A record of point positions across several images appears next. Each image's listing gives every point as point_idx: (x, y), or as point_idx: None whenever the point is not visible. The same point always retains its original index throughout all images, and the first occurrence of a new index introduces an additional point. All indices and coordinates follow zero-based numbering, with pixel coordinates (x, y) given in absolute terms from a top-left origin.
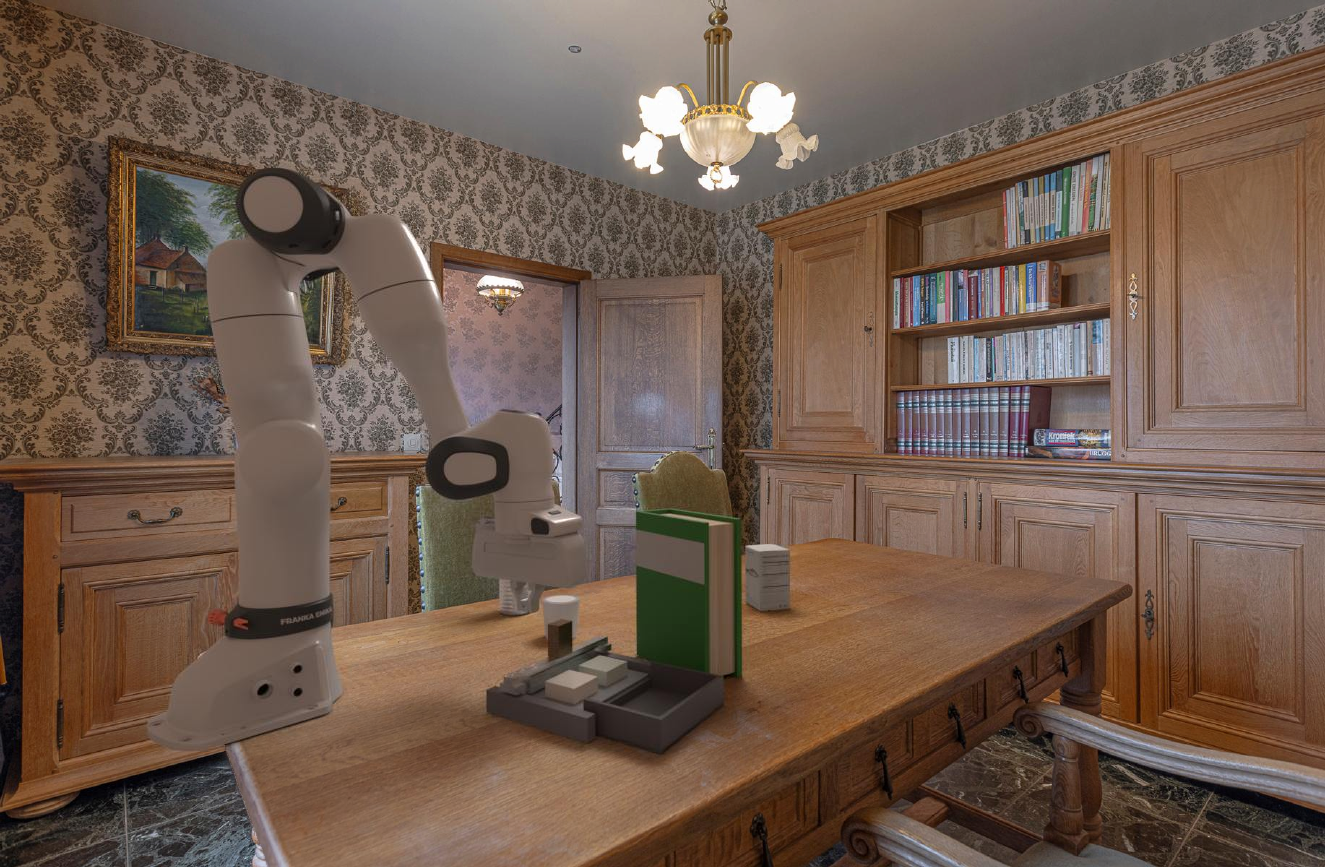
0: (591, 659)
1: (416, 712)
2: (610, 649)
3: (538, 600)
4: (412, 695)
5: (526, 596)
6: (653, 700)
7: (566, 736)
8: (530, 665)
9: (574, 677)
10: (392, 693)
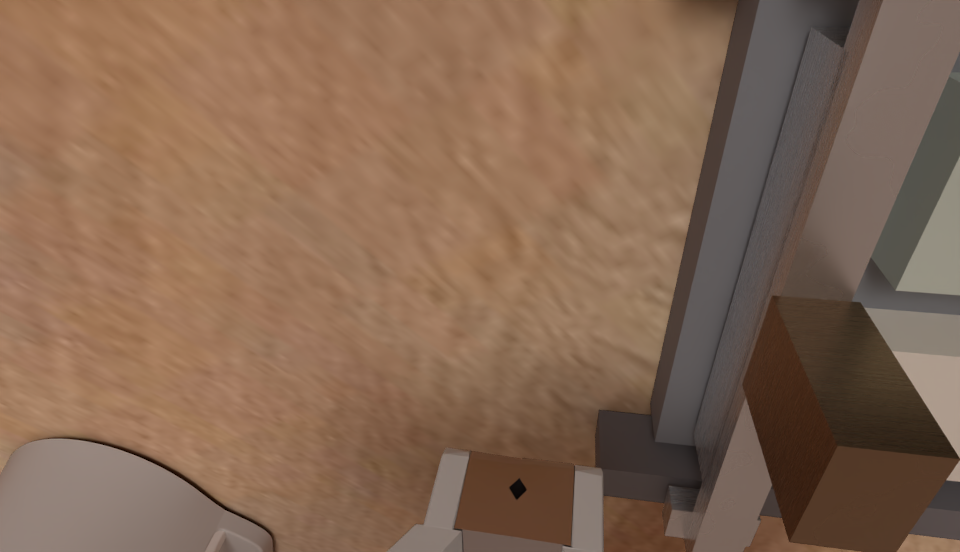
0: (946, 186)
1: (422, 480)
2: None
3: (602, 544)
4: (310, 422)
5: (458, 548)
6: None
7: None
8: (724, 479)
9: (935, 406)
10: (255, 429)
